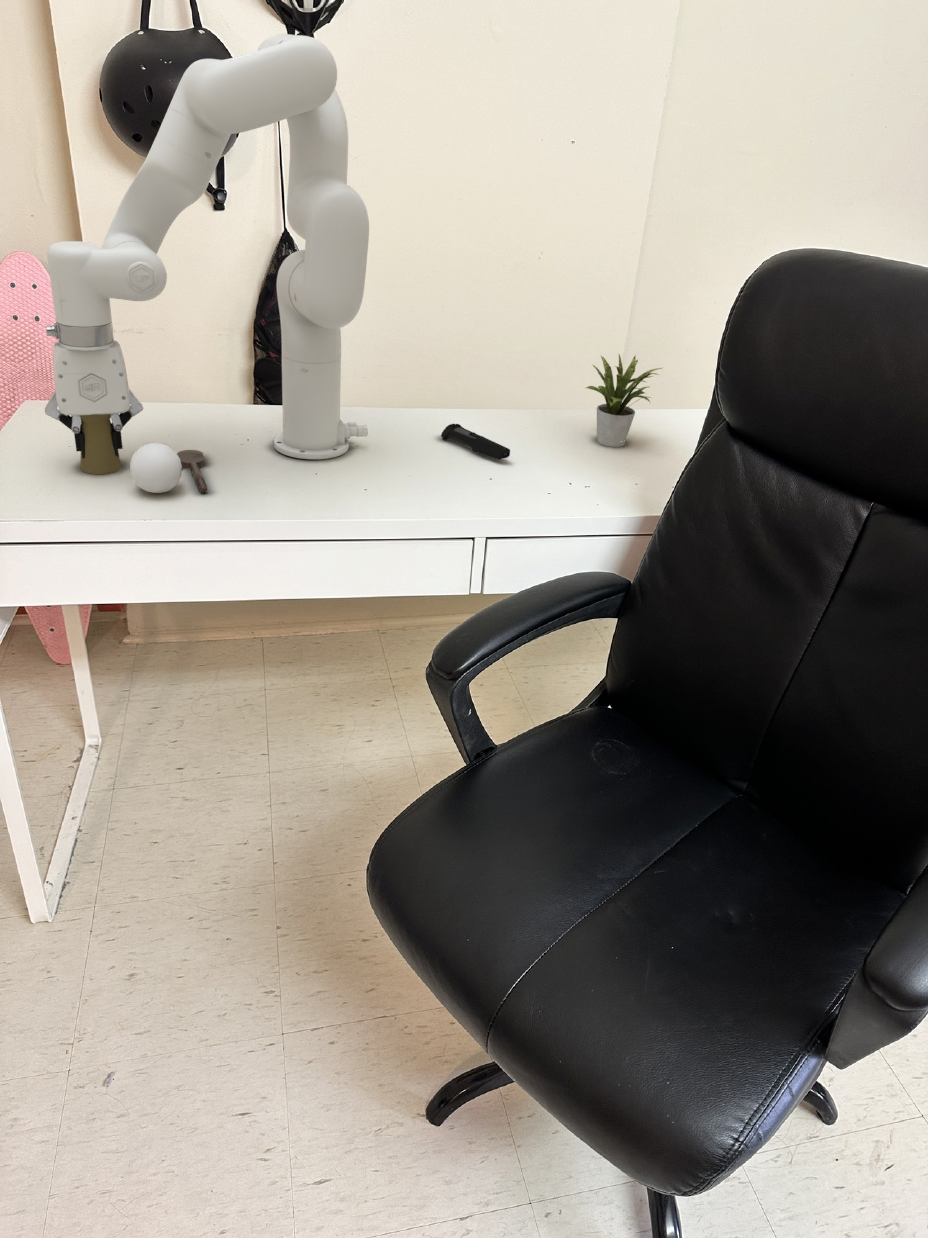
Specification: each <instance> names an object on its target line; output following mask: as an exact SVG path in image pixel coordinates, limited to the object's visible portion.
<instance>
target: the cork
mask: <svg viewBox="0 0 928 1238" xmlns="http://www.w3.org/2000/svg"><path fill="white" fill-rule="evenodd" d="M110 415H111V414H92V415H80V417H81V427H82V432H83V433H84V435H85V458H82V451H80V470H81V471H82V472H83V473H86V474H89V475H107V474H108V475H109V474H113V473H116V472H118V471H120V470H121V469H122V467H123V466H122V462H121V461H122V460H121V457H120V455H119V456H116V455H115V450H114V447H113V443H112V435H111V432H112V426H111V423H112V421H111V416H110Z"/></svg>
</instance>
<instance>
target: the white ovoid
mask: <svg viewBox="0 0 928 1238" xmlns="http://www.w3.org/2000/svg"><path fill="white" fill-rule="evenodd" d="M183 469H184V468H183V466H182V465H181V461H180V458H179V457H178V455H177V452H176V451H175V450H174V449H172V448H171V447H170V446H169V445H166V444H163V443H160V442H149V443H146V444H143V445H141V446H139V448H138V449H137V450H135V452H134V453H133V454H132V457H131V458H130V464H129V472H130V476H131V479H132V480H133V481H134V483H135V484H136V485H137V486H138V487H139V488H140V489H142V490H143V491H145V492H148V493H153V494H163V493H166V492H169V491H171V490H172V489H173V488H174V487H176V486H177V485H178V484H179V482H180V479H181V478H182V472H183Z"/></svg>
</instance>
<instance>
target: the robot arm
mask: <svg viewBox="0 0 928 1238" xmlns="http://www.w3.org/2000/svg"><path fill="white" fill-rule="evenodd" d="M337 81H338V68H337V63H336V60H335V58H334V55H333V54H332V51H330V49H329V48H328V46H326V45H325V44H324V43H323V42H322V41H320V40H319V39H316V38H315V37H312V36H309V35H301V34H300V35H299V34H289V33H279V34H274V35H271V36H269V37H267V38H266V39H264V40H263V41H262V42H261V43H260V44H259V46H258V47H257V50H256V51H252V52H248V53H246V54H243V55H239V56H235V57H230V58H226V59H217V58H202V59H201V58H200V59H199V60H196V61H194V62H192V63H191V64H190V65H189V66H188V67H187V68H186V69H185V71H184V72H183V75H182V77H181V79H180V81H179V82H178V84H177V87H176V90H175V92H174V93H173V97H172V99H171V101H170V104H169V106H168V108H167V111H166V113H165V115H164V118H163V119H162V122H161V124H160V127H159V129H158V131H157V133H156V136H155V138H154V140H153V142H152V145H151V148H150V149H149V151H148V154H147V155H146V158H145V160H144V162H143V163H142V165H141V166H140V168H139V169H138V171H137V173H136V175H135V177H134V178H133V180H132V182H131V183H130V185H129V186H128V189H127V190H126V192H125V193H124V195H123V196H122V199H121V201H120V203H119V205H118V207H117V209H116V211H115V213H114V216H113V219H112V221H111V223H110V225H109V228H108V230H107V232H106V235H105V237H104V239H103V243H102V244H101V246H99V245H98V244H96V243H92V242H88V241H78V240H76V241H75V240H72V241H71V240H65V241H58V242H55V243H53V244H51V245H50V246H49V247H48V249H47V252H46V255H47V265H48V266H47V267H48V272H49V280H50V287H51V295H52V302H53V303H52V304H53V309H54V315H55V317H54V318H55V322H54V323H53V324H51V326H50V325H46V326H45V330H46V336H47V337H53V338H55V340H56V341H55V342H54V345H53V351H52V352H53V353H52V364H53V366H52V367H53V369H52V371H53V381H54V391H53V393H52V394H51V396H50V398H49V400H48V402H47V403H46V405H45V407H44V414H45V415H47V416H48V417H50V418H52V419H55V420H56V421H59V422H60V423H61V424H62V425H64V426H66V427H67V428H68V429H69V430H70V431H71V432H72V433H73V436H74V443H75V449H76V450H75V451H76V452H81V451H82V458H85V435H84V433H83V432H82V427H81V417H80V415H92V414H111V415H110V416H111V418H110V420H111V426H112V432H111V435H112V443H113V447H114V450H115V455H116V456H119V457H120V453H119V450H123V439H122V431H123V428H124V427H125V426H126V425H127V424H128V422H129V421H130V420H132V418H133V417H135V416H136V415H138V414H140V413H141V412H142V411H143V410H144V406H143V403H142V402H141V401H140V399H138V398H137V395H135V394H134V392H133V391H132V390H131V389H130V386H129V380H128V373H127V367H126V362H125V358H124V353H123V350H122V348H121V344H120V343H119V342H118V341H117V340H115V337H114V336H115V335H114V327H113V319H112V309H111V299H115V300H122V301H123V300H124V301H129V302H146V301H150V300H153V299H156V298H157V297H159V296H160V295H161V294H162V293H163V291H164V289H165V288H166V285H167V280H168V275H167V269H166V266H165V264H164V262H163V260H162V259H161V258H160V256H159V255H158V252H159V250H160V248H161V246H162V243H163V242H164V239H165V237H166V235H167V233H168V231H169V229H170V228H171V226H172V225H173V223H174V222H175V220H176V219H177V217H178V216H179V215H180V214H181V213H182V212H183V211H184V210H185V209H187V208H188V207H190V206H191V205H193V204H194V203H196V202H197V201H199V199H200V198H201V197H202V196H203V195H204V194H205V193H206V191H207V188H208V186H209V183H210V182H211V179H212V178H213V175H214V173H215V171H216V168H217V166H218V163H219V161H220V159H221V157H222V155H223V152H224V151H225V148H226V146H227V144H228V142H229V140H230V137H231V135H234V134H241V133H245V132H248V131H252V130H257V129H260V128H263V127H266V126H270V125H273V124H275V123H278V122H280V121H283V120H286V123H287V127H288V133H289V165H288V183H287V186H288V187H287V196H286V197H287V200H286V216H287V221H288V224H289V226H290V227H291V229H292V231H293V232H294V233H295V234H297V236H299V237H300V238H301V239H303V240H305V243H304V244H305V245H304V249H300V250H296V251H294V252H292V253H291V254H289V255H288V256H286V258H285V259H284V260H283V261H282V262H281V265H280V266H279V269H278V272H277V276H276V296H277V304H278V311H279V320H280V334H281V393H282V394H281V397H282V398H281V399H282V400H281V402H282V403H281V405H282V432H280V433H278V434H277V435H275V437H274V438H273V447H274V449H275V450H276V451H277V452H279V453H280V454H282V455H285V456H287V457H290V458H296V459H301V460H326V459H327V460H328V459H333V458H337V457H339V456H342V455H344V454H345V453H347V452H348V450H349V446H350V441H349V439H350V438H351V437H356V438H360V437H367V436H368V434H369V430H368V425H367V424H359V425H357V423H356V422H355V421H350V422H343V421H342V420H341V379H342V377H341V375H342V374H341V372H342V369H341V368H342V333H341V328H343V327H345V326H348V325H349V324H350V323H351V322H352V321H353V320H354V319H355V318H356V316H357V315H358V313H359V311H360V309H361V306H362V303H363V299H364V293H365V292H364V291H365V283H366V275H367V274H366V273H367V264H368V263H367V262H368V251H369V241H370V220H369V214H368V213H369V212H368V210H367V206H366V204H365V202H364V199H363V198H362V196H361V195H360V194H359V192H358V191H356V190H355V189H354V188H353V187H351V185H348V165H349V129H348V121H347V116H346V111H345V109H344V106H343V103H342V100H341V98H340V96H339V94H338V92H337V89H336V86H337Z"/></svg>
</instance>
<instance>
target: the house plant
mask: <svg viewBox="0 0 928 1238" xmlns="http://www.w3.org/2000/svg"><path fill="white" fill-rule="evenodd" d="M600 358H601V361H602V364H603V365H602V366H603V369H604V372H603V373H602V372H601V370H600V369H599V368H598V367H597V366H596V365H594V364H591V365H592V367H593V368H594V369H595V370H596V372H597V374H598V375H599V376H600V378H601V380H602V381H603V384H604V385H598V386H594V385H588V386H586V387H585V389H588V390H591V391H596V392H597V393H599V394H601V395H602V396H603V397H604V400H605V403H602V404H601V403H600V404H599V405H597V407H596V442H597V443H598V444H599V445H602V446H605V447H609V448H621V447H624V445H625V444H626V442H627V441H626V440H627V438H628V435H629V432H630V429H631V427H632V423H633V421H634V418H635V414H636V411H635V409H634V408H632V407H630V406H632V405H633V404H635V403H636V402H638V401H639V399H644V400H646V401H648V402H649V404H650V405H652V404H651V401H650V399H652V397H651V396H646V395H644V394H646V392H644V390H645V389H647V388H649V386H642V387H640V388H639V387H637V386H639V384H640V383H642V382H643V383H648V382H647V381H645V380H644V379H647V378H653V377H654V375H658V376H660V374H659V373H657V372H655V371H657V370H662V369H663V367H658V368H657V367H656V368H653V369H649V370H647V371H645V372H643V373H642V374H640V375H639V376H637V377H635V378H632V377H633V375H634V374H635V373H636V366H637V364H638V362H639V358H638V359H637V358H636V355H634V356H633V358H632V360H631V361H630V364H629V366H627V368H626V370H625V372H624V368H623V363H622V356H621V355H620V354H618V366H616V365H614V367H615V368H616V370H617V374H616V386H615V383H614V374H613V370H612V367H611V365H610V364H609V362H608V361H607V359H606V358H605V357H604V356H602V355H600ZM630 383H631V384H630ZM629 384H630V385H629ZM628 385H629V386H628ZM636 389H637V390H636ZM634 390H635V391H634ZM635 398H639V399H637V400H636V401H634V402H633V403H631V404H630V405H628V404H629V403H630V402H631V401H632V400H633V399H635ZM627 405H628V406H627ZM624 440H625V441H624ZM620 441H623V442H620Z"/></svg>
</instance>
